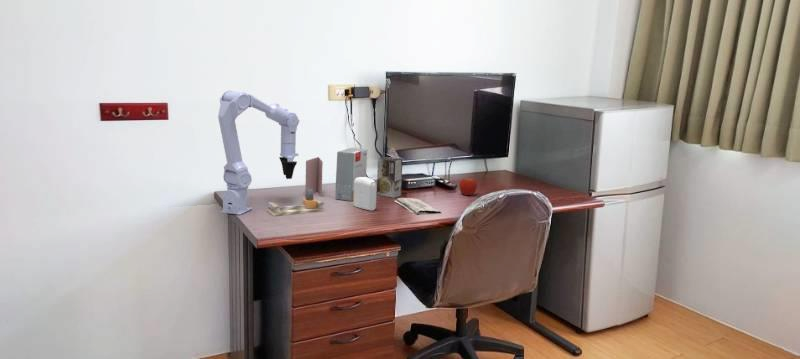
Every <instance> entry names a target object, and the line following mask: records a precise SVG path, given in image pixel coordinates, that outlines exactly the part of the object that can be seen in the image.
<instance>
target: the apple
mask: <svg viewBox="0 0 800 359" xmlns="http://www.w3.org/2000/svg"><path fill="white" fill-rule="evenodd" d="M477 187H478V182H477V181H476V179H475V178H462V179H461V180H460V181H459V190H460V193H461V194H462V195H463V194H464V195H463V196H466V195H471V196H473V195H474V194H475V192H476V191H477Z"/></svg>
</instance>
